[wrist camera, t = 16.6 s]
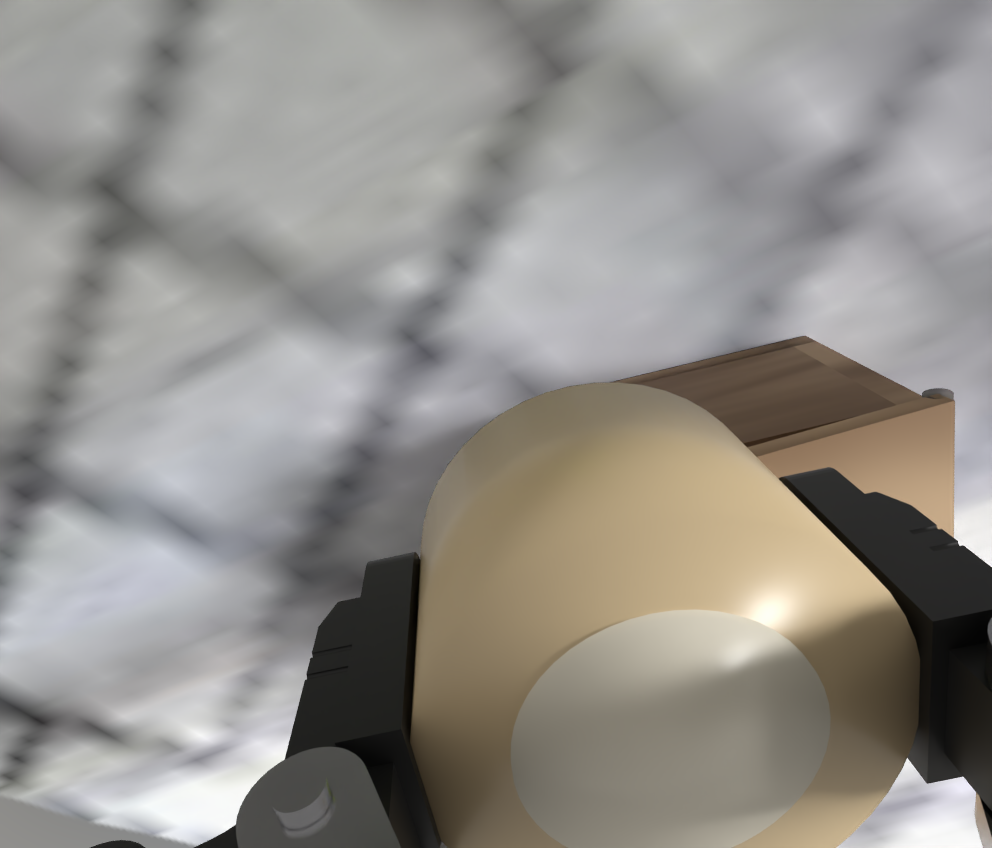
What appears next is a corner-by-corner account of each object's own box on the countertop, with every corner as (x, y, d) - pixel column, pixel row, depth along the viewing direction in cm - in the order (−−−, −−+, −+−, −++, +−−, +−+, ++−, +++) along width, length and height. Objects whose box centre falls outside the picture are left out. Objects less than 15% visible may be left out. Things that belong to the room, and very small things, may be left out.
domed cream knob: (382, 425, 10) (347, 587, 7) (756, 347, 10) (937, 465, 7) (462, 715, 12) (470, 967, 9) (775, 651, 12) (922, 876, 9)
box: (560, 394, 26) (600, 477, 20) (805, 335, 26) (928, 399, 19) (610, 638, 30) (658, 774, 24) (823, 588, 30) (929, 711, 23)
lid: (587, 485, 19) (597, 502, 18) (940, 386, 19) (967, 397, 18) (651, 807, 23) (663, 833, 22) (939, 716, 23) (962, 738, 23)
